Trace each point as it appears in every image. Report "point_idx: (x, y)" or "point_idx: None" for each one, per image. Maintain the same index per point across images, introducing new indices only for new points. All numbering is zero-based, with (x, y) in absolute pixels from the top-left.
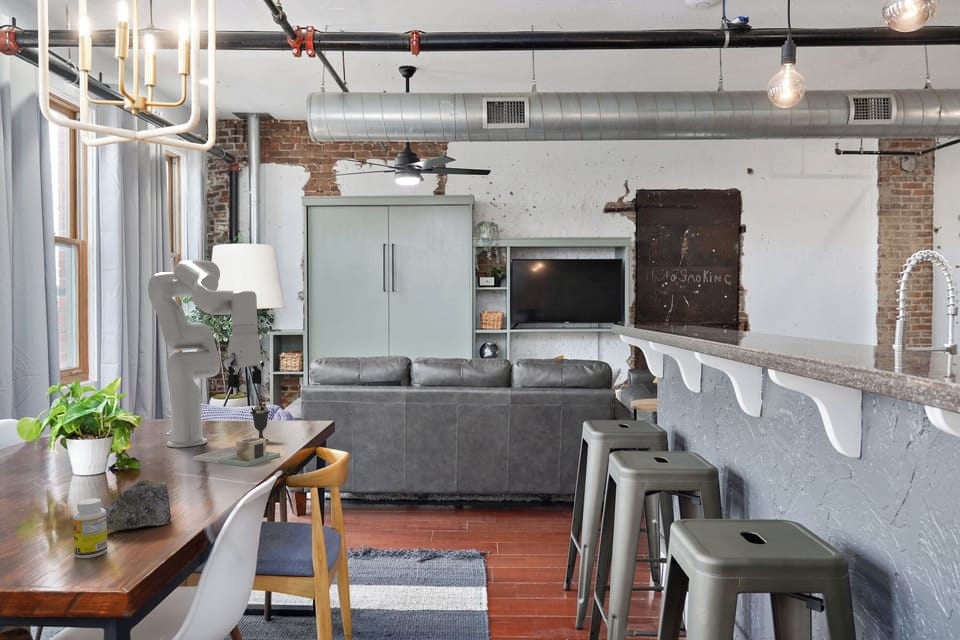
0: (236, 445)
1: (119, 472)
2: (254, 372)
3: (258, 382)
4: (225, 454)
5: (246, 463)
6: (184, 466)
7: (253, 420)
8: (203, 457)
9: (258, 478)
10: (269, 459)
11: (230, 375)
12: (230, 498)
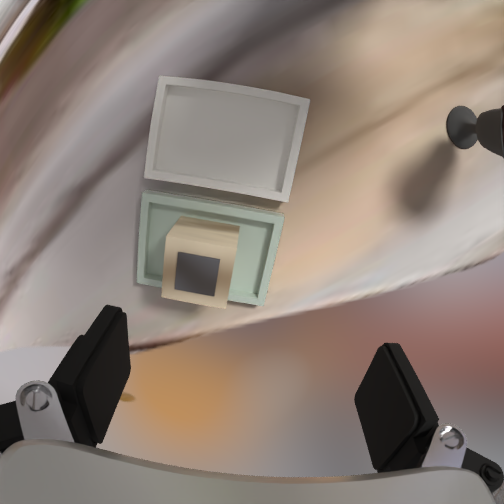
0: (169, 232)
1: (42, 8)
2: (399, 435)
3: (359, 396)
4: (253, 124)
5: (137, 280)
6: (107, 99)
7: (495, 110)
8: (153, 116)
9: None
10: None
11: (47, 391)
12: (8, 345)
